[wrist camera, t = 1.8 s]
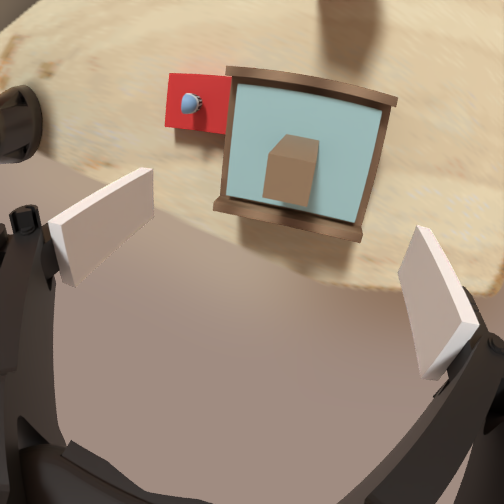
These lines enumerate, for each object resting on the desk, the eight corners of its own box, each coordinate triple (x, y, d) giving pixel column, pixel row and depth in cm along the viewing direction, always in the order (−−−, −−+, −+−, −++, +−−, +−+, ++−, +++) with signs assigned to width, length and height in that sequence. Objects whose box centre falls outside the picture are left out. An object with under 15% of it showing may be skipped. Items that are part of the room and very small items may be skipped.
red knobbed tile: (241, 78, 31) (224, 76, 26) (233, 131, 35) (216, 139, 30) (179, 73, 32) (154, 72, 27) (175, 123, 36) (149, 131, 31)
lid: (229, 191, 31) (189, 235, 23) (241, 83, 25) (198, 82, 17) (353, 217, 29) (362, 274, 21) (379, 110, 23) (408, 120, 15)
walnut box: (237, 183, 38) (213, 210, 30) (250, 71, 30) (226, 65, 23) (354, 208, 36) (360, 242, 28) (380, 95, 28) (398, 97, 21)
